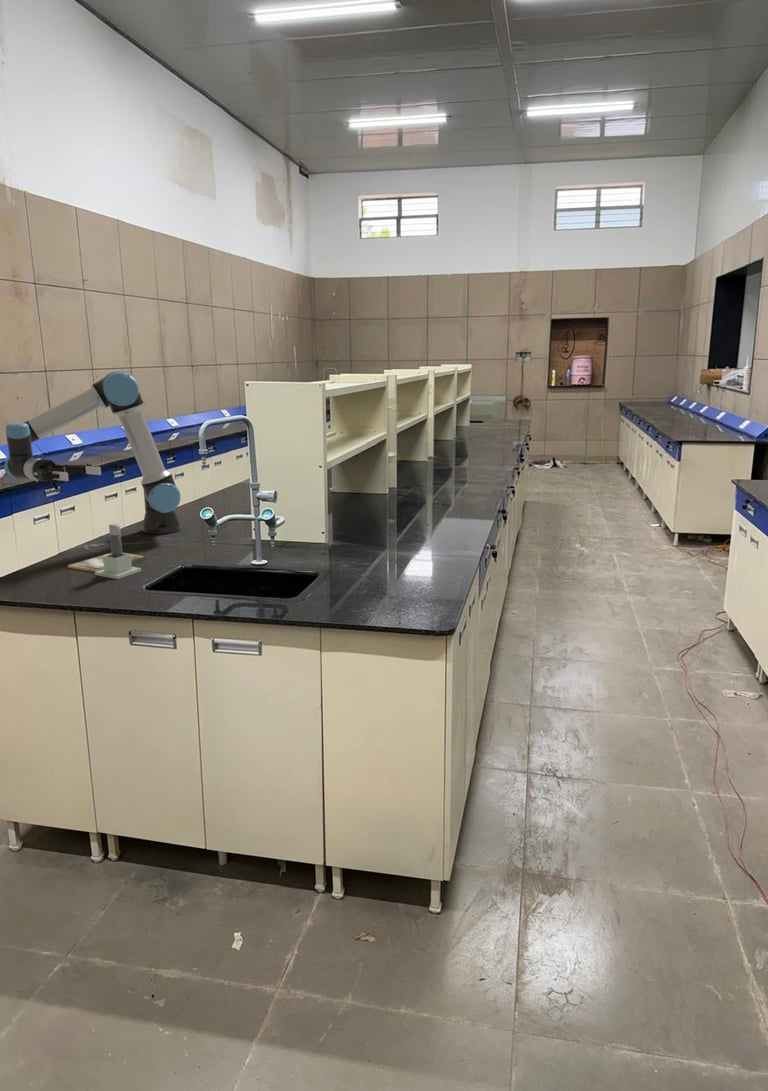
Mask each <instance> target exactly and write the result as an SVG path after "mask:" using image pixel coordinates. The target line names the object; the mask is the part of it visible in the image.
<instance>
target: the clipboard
mask: <svg viewBox="0 0 768 1091" xmlns="http://www.w3.org/2000/svg"><path fill="white" fill-rule="evenodd" d="M125 553H126V554H128V553H127V552H125ZM109 554H112V551H111V552H109V553H104V554H102V555H98V556H95V557H91V558H89V559H88V558H87V559H84V560H80V561H78V562H74V563H71V564H67V568H69V569H74V570H80V571H85V572H89V573H90V572H91V573H95V572H97V571H100V570H103V569H104V563H103V556H106V555H109ZM130 554H131V563H134V562H136V561H140V560H143V559H144V556H143V555H138V554H132V553H130Z"/></svg>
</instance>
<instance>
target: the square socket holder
mask: <svg viewBox="0 0 768 1091" xmlns="http://www.w3.org/2000/svg"><path fill="white" fill-rule="evenodd" d="M126 553H127V552H122V555H123V556H121V557H118V558H114V557H112V554H109V555H106V556H103V563H104V569H103V570H100V571H97V572H94V575H95V576H99V577H104V578H110V579H115V580H120V579H122V578H126V577H129V576H131V575H133V574H134V575H135V574H138V573H140V572H142V567H136V566H132V562H131V554H132V553H127V554H126Z"/></svg>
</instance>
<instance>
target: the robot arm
mask: <svg viewBox="0 0 768 1091" xmlns="http://www.w3.org/2000/svg"><path fill="white" fill-rule="evenodd" d="M144 404H145V403H144V401H143V397H142V395H141V393H140V388H139V384H138V382H137V380H136V378H134V377H133V376H132V375H131V374H129V373H128V372H124V371H112V372H110V373H108V374H106V375H105V376H104V377H103V378H101V379H100V380H98V381H96V382H95V383H93V384H91V385H90V388H89V389H88V390H87V389H86V390H85V391H83V392H81V393H79V394H77V395H76V396H74V397H72V398H69V399H68V400H65V401H63V402H62V403H60V404H58V405H56V406H53V407H52V408H50V409H48V410H46V411H43V412H42V413H40V414H38V415H35V416H34V417H32V418H30V419H28V420H27V421H24V422H15V423H14V422H13V423H8V424H6V425H5V435H6V442H7V448H8V449H7V450H8V456H9V457H7V459H6V460H5V461H4V464H3V470H4V471H5V472H4V473H6V475H8V476H9V477H11V478H16V479H19V480H21V479H23V480H33V481H35V482H39V481H41V482H49V483H53V482H54V481H63V482H69V474H72V475H73V474H86V475H95V476H101V475H102V468H101V466H93V465H92V464H89V463H86V464H56V463H55V462H54V461H53V460H51V459H45V458H34V457H33V456H34V455H33V449H32V447H33V446H32V443H34V442H36V441H38V440H39V439H41V438H43V437H45V436H47V435H49V434H52V433H53V432H55V431H57V430H59V429H61V428H64V427H65V426H67V425H69V424H71V423H73V422H76V421H77V420H79V419H81V418H83V417H85V416H87V415H89V414H90V413H93V412H95V411H96V410H98V409H101V408H104V409H106V408H108V407H109V408H110V410H111V413H112V414H113V415H114V416H118V418H119V421H120V423H121V426H122V428H123V430H124V434H125V436H126V438H127V441H128V443H129V446H130V448H131V450H132V453H133V455H134V458H135V460H136V463H137V465H138V469H140V473H141V475H142V479H141V481H140V482H141V486H142V489H143V497H144V499H143V500H144V509H145V513H144V517H143V523H142V525H141V527H142V528H141V529H142V532H143V533H144V534H151V535H161V534H162V535H163V534H171V533H175V532H176V533H177V532H179V531H181V530H182V524H181V521H180V520H179V519H180V518H179V517H178V516H179V515H178V513H177V511H176V509H177V508H178V506H180V505H179V504H180V502H181V492H180V489H179V488H178V487H177V486H176V482H175V480H174V478H173V477H174V476H173V474H172V472H171V471H169V470H167V469H166V468H165V465H164V462H163V461H162V457H161V456H160V453H159V451H158V447H157V446H156V443H155V440H154V438H153V435H152V432H151V430H150V427H149V425H148V422H147V420H146V417H145V414H144V412H143V410H142V409H143V407H144Z"/></svg>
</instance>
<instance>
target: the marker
mask: <svg viewBox="0 0 768 1091" xmlns="http://www.w3.org/2000/svg"><path fill="white" fill-rule="evenodd" d="M108 529H109V536H110V537H109V538H110V548H111V552H112V557H114V558H118V557H121V556H123V555H122V553H123V546H122V545H123V544H122V536H121V535H122V533H121V532H122V531H121V524H120V523H113V524H109V525H108Z"/></svg>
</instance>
